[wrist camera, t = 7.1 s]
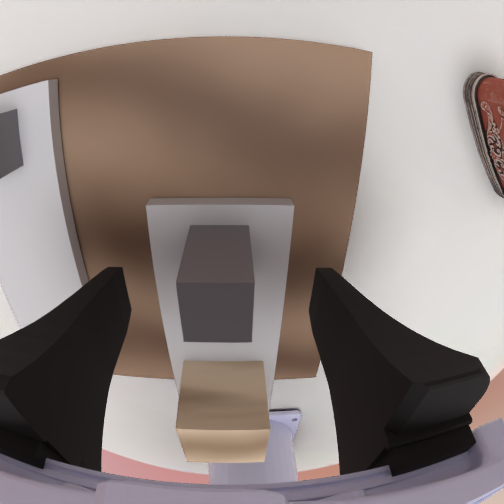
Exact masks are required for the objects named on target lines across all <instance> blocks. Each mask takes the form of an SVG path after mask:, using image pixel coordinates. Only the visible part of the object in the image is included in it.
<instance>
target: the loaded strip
mask: <svg viewBox="0 0 504 504" xmlns="http://www.w3.org/2000/svg"><path fill="white" fill-rule="evenodd" d="M146 212H147V221H148V229H149V237H150V245H151V252H152V260H153V266H154V273H155V280H156V286H157V292H158V298H159V304H160V309H161V315H162V320H163V326H164V331H165V336H166V341H167V346H168V351H169V355H170V360H171V365H172V369H173V373H174V378H175V382H176V386H177V391H178V395H179V393H180V385H181V376H182V368H183V361H263V363H264V373H265V382H266V392H267V401H268V411H269V409H270V402H271V395H272V388H273V382H274V375H275V367H276V360H277V353H278V345H279V338H280V330H281V322H282V314H283V306H284V298H285V289H286V281H287V272H288V263H289V254H290V244H291V234H292V225H293V214H294V204H293V202H292V200H291V199H287V198H150V200H149V201H148V203H147V204H146Z"/></svg>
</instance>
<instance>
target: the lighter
mask: <svg viewBox="0 0 504 504" xmlns="http://www.w3.org/2000/svg"><path fill="white" fill-rule="evenodd" d="M463 95H464V101H465V105H466V109H467V113H468V117H469V121H470V126H471V129H472V132H473V136H474V139H475V142H476V146H477V149H478V153H479V155H480V158H481V160H482V163H483V165H484V168H485V171H486V174H487V176H488V178H489V180H490V182H491V184H492V186H493V188H494V190H495V192H496V193H497V194H498V195H499V196H501V197H502V198H504V79H500V78H498V77H496V76H495V75H493V74H489V73H481V72H476V73H473V74H471V75H470V76H469V77H468V78H467V80H466V82H465V84H464V89H463Z"/></svg>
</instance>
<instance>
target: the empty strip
mask: <svg viewBox="0 0 504 504" xmlns="http://www.w3.org/2000/svg"><path fill="white" fill-rule="evenodd" d="M87 282H89V281H88V277H87V274H86V270H85V266H84V262H83V258H82V254H81V250H80V246H79V242H78V237H77V233H76V228H75V224H74V219H73V214H72V208H71V203H70V198H69V192H68V186H67V179H66V173H65V166H64V158H63V150H62V141H61V130H60V119H59V103H58V79H53V80H46V81H42V82H39V83H35V84H31V85H28V86H25V87H21V88H18V89H15V90H11V91H8V92H5V93H2V94H0V284H1V287H2V289H3V292H4V294H5V296H6V299H7V301H8V303H9V306H10V308H11V310H12V312H13V314H14V317H15V319H16V321H17V323H18V325H19V327H20V329H22V328H24V327H26V326H27V325H29V324H31V323H33V322H34V321H36V320H38V319H39V318H41V317H42V316H44V315H45V314H47V313H48V312H50V311H51V310H53V309H54V308H56V307H57V306H58V305H59V304H61V303H62V302H63V301H65V300H66V299H67V298H69V297H70V296H71V295H73V294H74V293H75V292H76V291H78V290H79V289H80V288H81V287H82V286H84V285H85V284H86V283H87Z"/></svg>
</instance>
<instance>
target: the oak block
mask: <svg viewBox="0 0 504 504" xmlns="http://www.w3.org/2000/svg"><path fill="white" fill-rule="evenodd" d="M176 431H177V434H178V437H179V439H180V442H181V445H182V448H183V451H184V454H185V456H186V459H187V462H206V463H252V462H264V461H265V456H266V450H267V445H268V440H269V434H270V420H269V411H268V401H267V392H266V382H265V373H264V363H263V361H183V368H182V376H181V385H180V393H179V402H178V412H177V421H176Z"/></svg>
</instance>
